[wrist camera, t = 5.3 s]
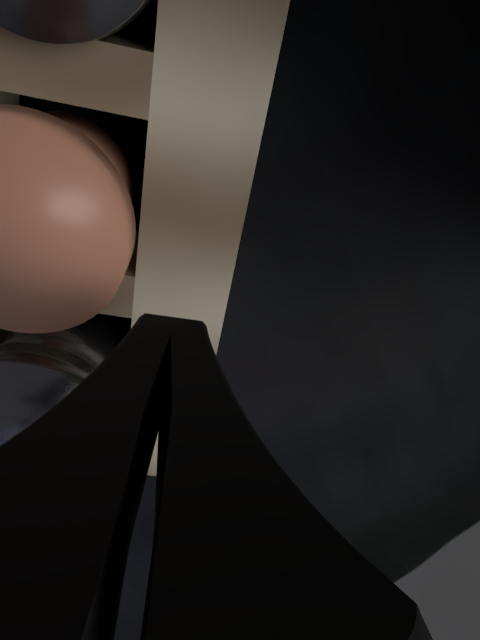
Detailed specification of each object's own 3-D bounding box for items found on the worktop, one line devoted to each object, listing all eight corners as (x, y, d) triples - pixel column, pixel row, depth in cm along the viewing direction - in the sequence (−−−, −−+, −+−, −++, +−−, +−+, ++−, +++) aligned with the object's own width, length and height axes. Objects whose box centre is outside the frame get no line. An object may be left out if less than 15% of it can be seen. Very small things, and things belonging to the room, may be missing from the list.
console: (194, 414, 24) (189, 479, 20) (-32, 388, 22) (-77, 452, 19) (334, -302, 11) (383, -445, 8) (-164, -470, 10) (-369, -735, 6)
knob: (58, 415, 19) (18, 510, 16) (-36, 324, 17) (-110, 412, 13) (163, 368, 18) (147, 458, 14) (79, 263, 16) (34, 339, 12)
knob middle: (55, 283, 16) (4, 362, 12) (-62, 144, 13) (-173, 190, 10) (183, 214, 15) (170, 279, 11) (82, 49, 12) (20, 58, 8)
